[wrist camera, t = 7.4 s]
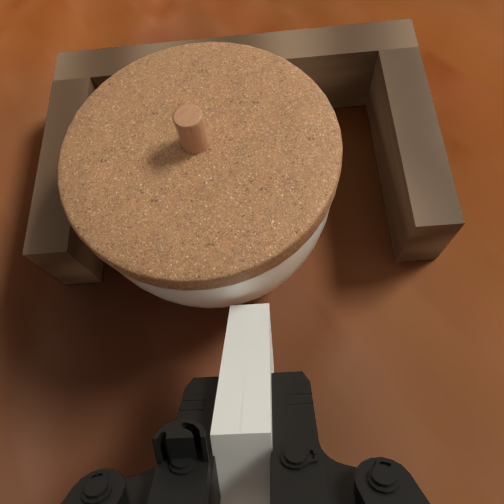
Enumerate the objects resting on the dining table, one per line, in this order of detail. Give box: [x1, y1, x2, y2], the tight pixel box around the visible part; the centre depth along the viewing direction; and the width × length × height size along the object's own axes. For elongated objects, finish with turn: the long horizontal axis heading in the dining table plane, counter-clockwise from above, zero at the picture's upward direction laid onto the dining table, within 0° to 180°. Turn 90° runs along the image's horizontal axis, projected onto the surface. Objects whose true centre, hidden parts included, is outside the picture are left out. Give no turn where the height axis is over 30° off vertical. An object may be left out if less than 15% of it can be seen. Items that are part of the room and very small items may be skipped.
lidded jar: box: [58, 42, 343, 308], centre depth 19 cm, size 11×11×9 cm
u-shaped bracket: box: [22, 19, 465, 285], centre depth 23 cm, size 19×12×4 cm, turn 92°
